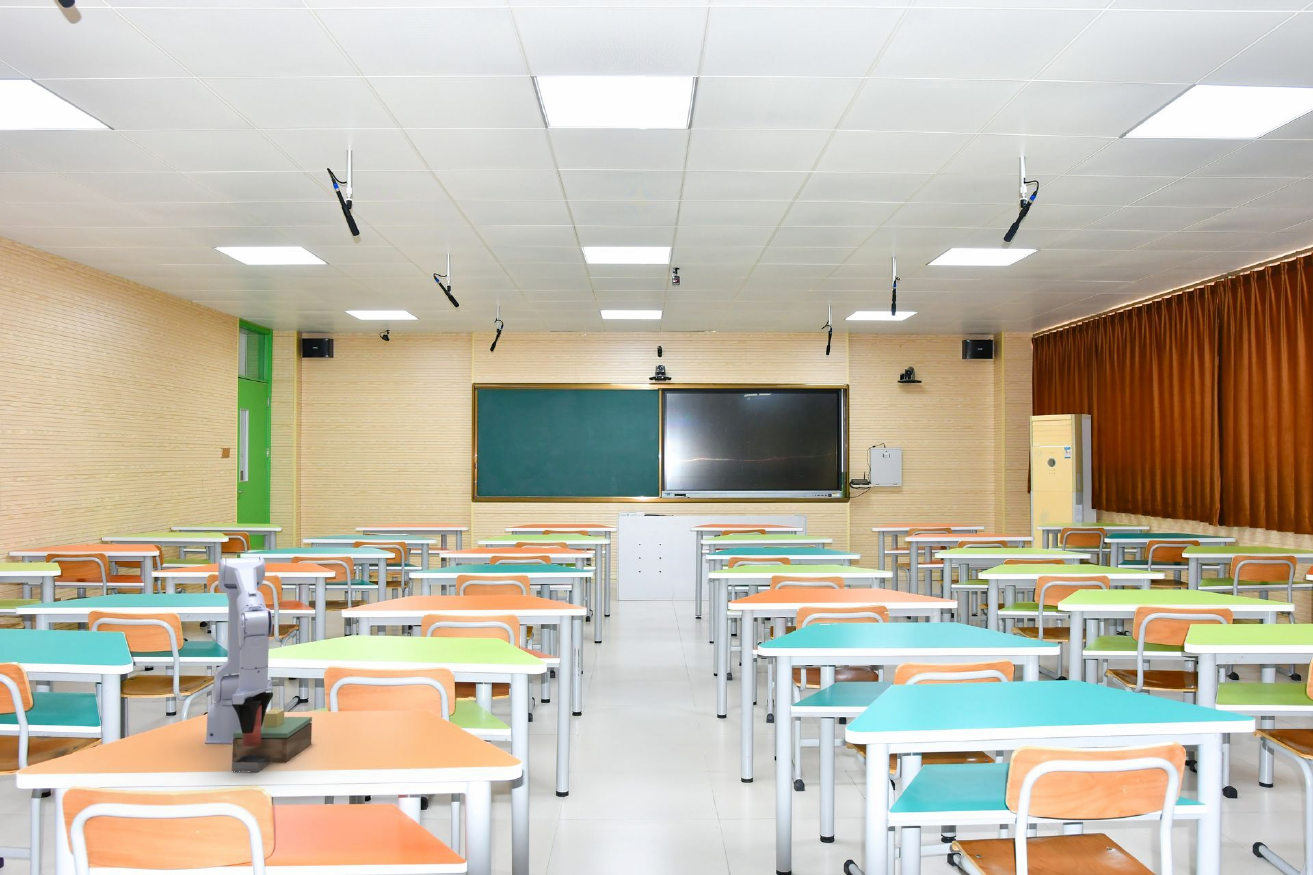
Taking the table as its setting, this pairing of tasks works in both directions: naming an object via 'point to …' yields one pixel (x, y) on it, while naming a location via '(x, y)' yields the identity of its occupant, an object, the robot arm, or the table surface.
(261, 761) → the key socket
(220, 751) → the table surface
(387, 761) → the table surface
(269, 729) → the lid
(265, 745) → the wooden box
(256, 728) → the key peg
